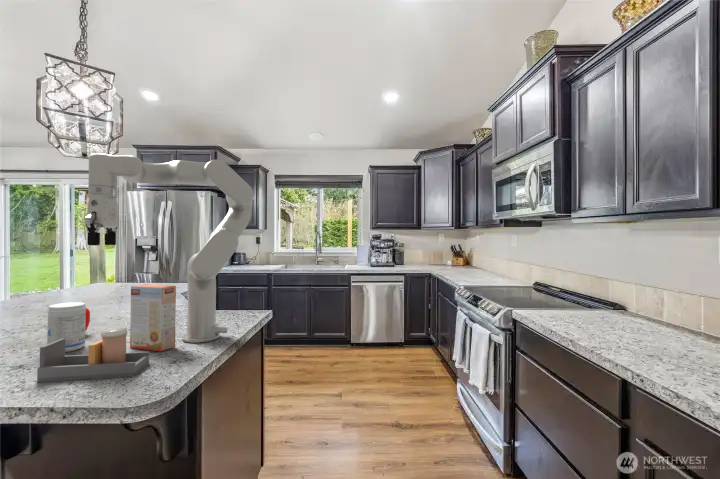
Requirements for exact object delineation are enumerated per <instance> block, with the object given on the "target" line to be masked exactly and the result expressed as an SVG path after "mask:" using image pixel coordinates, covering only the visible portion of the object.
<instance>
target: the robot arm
mask: <svg viewBox="0 0 720 479" xmlns="http://www.w3.org/2000/svg"><path fill="white" fill-rule="evenodd" d="M118 177H121V178H123V179H124V180H125V181H127V182H130V183H135V184H150V185H187V186H204V187H217V188H218V189H219V190H220V191H221V192H223V194H224V195H225V200H226V202H227V204H228V211H227V213H226V215H225V216H224V218H223V220H222V221H221V222H219V224H218V226H217V227H216V228H215V229H214V230H213V231H212V232H211V233H210V235H209V236H208V237H207V241H206V242H205V244H204V245H203V246H202V247H201V249H200V250H199V251H198V252H197V253H195V254H193V255H192V256H191V257H190V258H189V259H188V262H187V267H186V272H187V273H186V274H187V306H186V307H187V312H186V313H187V314H186V315H187V316H186V317H187V320H186V322H187V324H186V325H187V326H186V328H187V329H186V331H187V332H186V334H184V335H183V336H182V341H183V342H185V343H189V344H191V343H192V344H194V343H196V344H197V343H205V342H211V341H214V340H218V339H219V338H220V336H221V334H227V333H228V332H229V328H228V327H226V326H221V327H220V326H219V323H216V321H217V320H216V319H217V316H216V315H217V312H216V311H217V310H216V309H217V305H216V304H217V278H216V277H217V276H218V274H219V273H220V271H221V270H222V269H223V268H224V266H225V265H226V264H227V263H228V261H229V260H230V258H232V256H233V254H234V253H235V252H236V250H237V248H238V246H239V237H241V235H242V234H243V233H244V232H245V231H244V230H246V228H247V227H248V225H249V223H250V220H251V217H252V208H251V203H252V201H253V200H254V190H253V188H252V187H251V186H250V185H249V184H248V182H246V181H245V180H244V179H243V178H242V177H241V176H240V175H239V174H238V173H237V172H236V171H235V170H234V169H233V168H232V167H231V166H229V165H228V164H227V163H226V162H224V161H223V160H221V159H220V160H219V159H212V160H210V161H209V160H208V162H204V161H203V162H200V161H192V160H181V159H177V160H171V161H169V162H163V163H152V162H151V163H150V162H143V161H142V160H141V158H139V157H137V156H134V155H131V154H130V155H129V154H127V155H126V154H125V155H124V154H123V155H112V154H108V153H97V152H96V153H91V154H90V155H89V157H88V182H87V183H88V188H87V190H88V191H87V192H88V194H87V195H88V202H87V213H86V216H85V217H84V222H85V228H86V233H87V246H100V245H101V232H99V231H100V229H101V228H104V231H105V232H106V233H104V245H105V246H116V245H117V233H118V227H119V226H120V225H119V224H120V218H119V205H118V204H119V203H118V199H117V198H118Z"/></svg>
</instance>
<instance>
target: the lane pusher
mask: <svg viewBox="0 0 720 479" xmlns="http://www.w3.org/2000/svg"><path fill="white" fill-rule="evenodd" d="M87 348H88V354H87V355H88V364H102V338H101V339H99V340H96V341H95V342H92V343H90V344H89V345H88V347H87Z"/></svg>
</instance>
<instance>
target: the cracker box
mask: <svg viewBox="0 0 720 479" xmlns="http://www.w3.org/2000/svg"><path fill="white" fill-rule="evenodd" d="M130 286H131V287H130V316H129V317H130V318H129V319H130V321H129V322H130V324H129V325H130V328H129V329H130V330H129V331H130V332H129V348H132V349H139V350H146V351H153V352H159V353H160V352H164V351H167V350H170V349H173V348H176V320H177V319H176V315H177V312H176V310H177V308H176V305H177V292H176V291H177V285H167V284H147V283H144V284H143V283H141V284H136V285H130Z"/></svg>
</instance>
